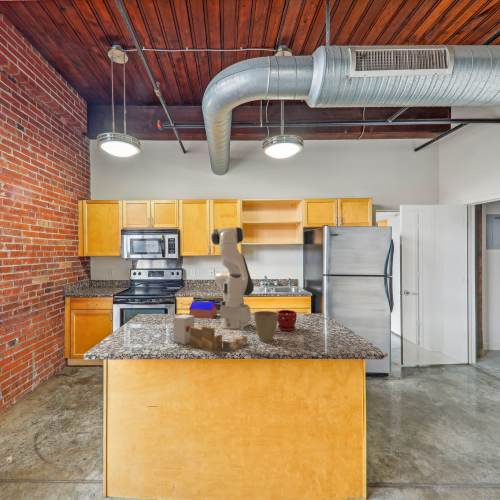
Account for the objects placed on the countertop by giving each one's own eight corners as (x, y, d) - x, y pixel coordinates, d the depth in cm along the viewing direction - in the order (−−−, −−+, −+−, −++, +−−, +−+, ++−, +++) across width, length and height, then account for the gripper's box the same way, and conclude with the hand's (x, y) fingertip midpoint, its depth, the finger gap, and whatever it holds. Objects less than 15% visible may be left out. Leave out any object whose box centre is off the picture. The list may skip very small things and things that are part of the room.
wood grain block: (200, 341, 173) (200, 321, 173) (222, 347, 162) (222, 325, 162) (189, 345, 166) (189, 324, 166) (211, 351, 155) (211, 328, 156)
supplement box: (184, 344, 167) (184, 318, 167) (172, 342, 172) (172, 316, 172) (194, 340, 175) (194, 315, 175) (183, 338, 180) (183, 313, 180)
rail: (242, 342, 171) (242, 334, 171) (247, 343, 169) (247, 335, 169) (222, 350, 157) (222, 341, 157) (227, 351, 155) (227, 343, 155)
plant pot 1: (271, 345, 165) (271, 317, 165) (249, 341, 173) (249, 314, 173) (282, 338, 178) (282, 312, 178) (261, 335, 185) (261, 309, 185)
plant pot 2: (274, 330, 196) (274, 312, 196) (281, 326, 207) (281, 309, 207) (292, 332, 190) (292, 314, 190) (299, 328, 201) (299, 310, 201)
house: (211, 318, 233) (211, 303, 233) (189, 317, 238) (188, 302, 239) (217, 315, 245) (217, 301, 245) (195, 313, 250) (195, 300, 250)
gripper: (253, 304, 159) (253, 329, 159) (225, 300, 172) (225, 324, 172) (246, 305, 154) (246, 332, 154) (218, 301, 167) (218, 326, 167)
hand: (235, 327), depth 163 cm, fingers open, 8 cm apart
